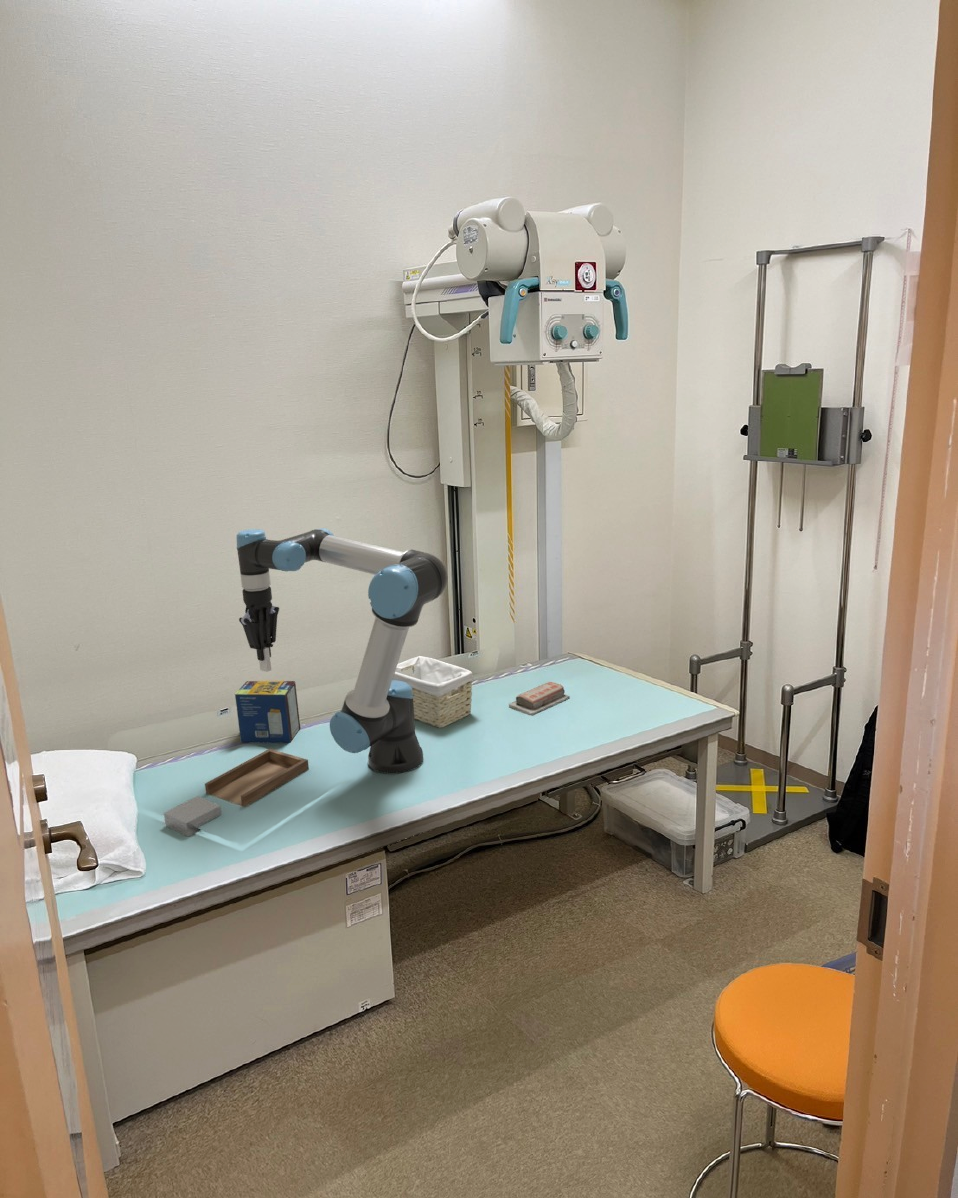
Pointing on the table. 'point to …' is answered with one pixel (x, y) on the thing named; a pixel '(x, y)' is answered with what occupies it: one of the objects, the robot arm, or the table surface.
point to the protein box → (267, 711)
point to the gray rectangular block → (191, 815)
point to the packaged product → (539, 698)
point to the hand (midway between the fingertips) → (265, 670)
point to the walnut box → (256, 777)
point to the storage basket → (437, 690)
